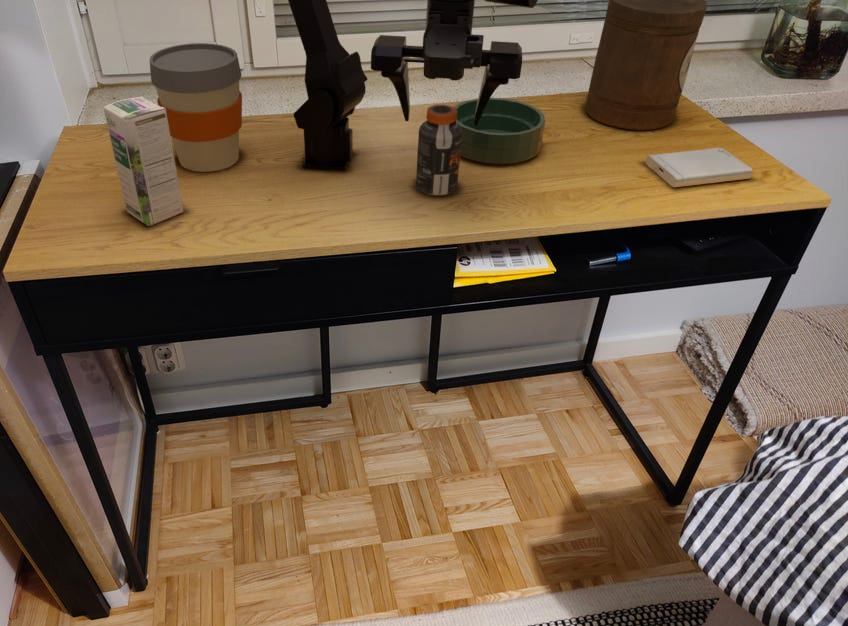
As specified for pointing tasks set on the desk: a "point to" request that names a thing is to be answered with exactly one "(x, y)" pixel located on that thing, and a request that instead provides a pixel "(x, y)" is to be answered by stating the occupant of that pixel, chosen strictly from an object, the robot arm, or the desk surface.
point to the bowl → (500, 131)
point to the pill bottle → (439, 151)
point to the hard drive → (698, 167)
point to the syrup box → (144, 159)
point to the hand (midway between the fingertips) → (441, 122)
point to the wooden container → (643, 61)
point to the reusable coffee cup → (200, 102)
